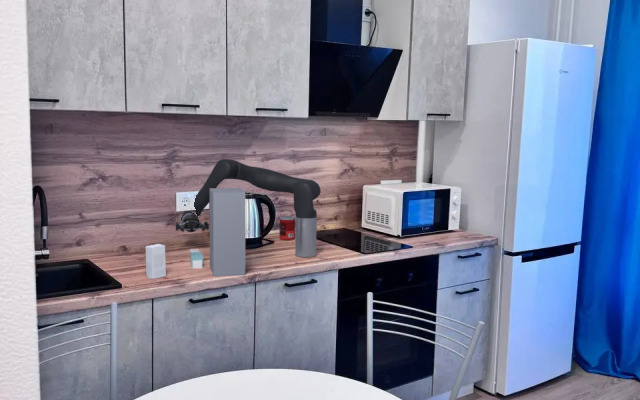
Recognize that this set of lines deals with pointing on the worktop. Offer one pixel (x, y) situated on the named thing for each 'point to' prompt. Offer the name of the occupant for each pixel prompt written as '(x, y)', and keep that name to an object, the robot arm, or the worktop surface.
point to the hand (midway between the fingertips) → (193, 229)
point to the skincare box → (155, 261)
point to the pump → (196, 258)
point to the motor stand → (227, 231)
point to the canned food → (287, 228)
